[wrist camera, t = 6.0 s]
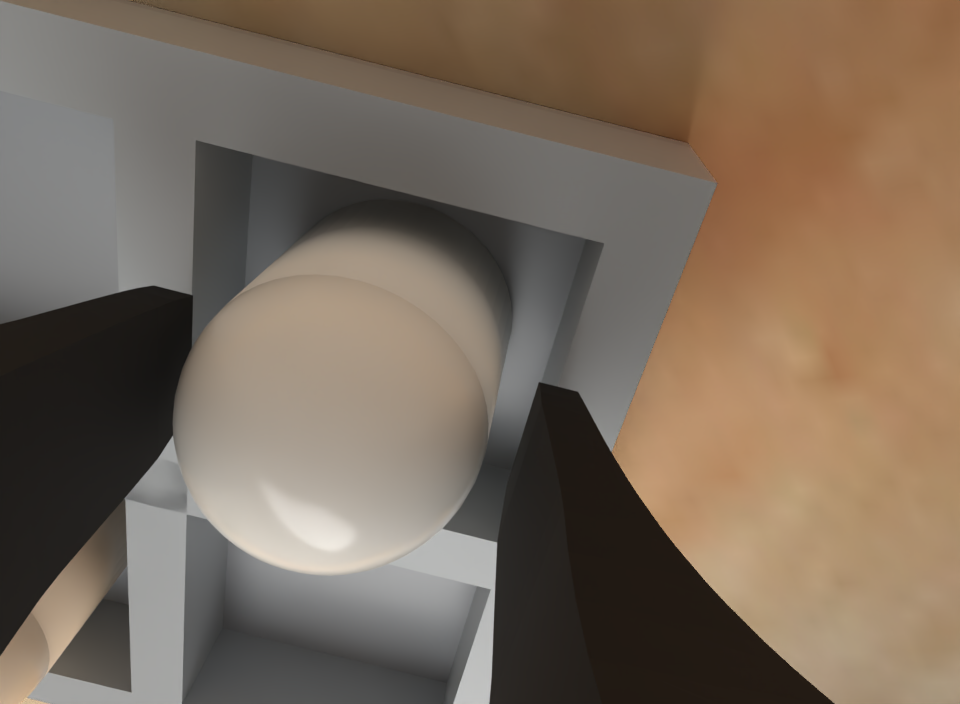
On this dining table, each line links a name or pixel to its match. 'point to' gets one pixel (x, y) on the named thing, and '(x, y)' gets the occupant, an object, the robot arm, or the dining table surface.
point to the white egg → (347, 391)
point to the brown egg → (64, 609)
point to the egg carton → (255, 246)
